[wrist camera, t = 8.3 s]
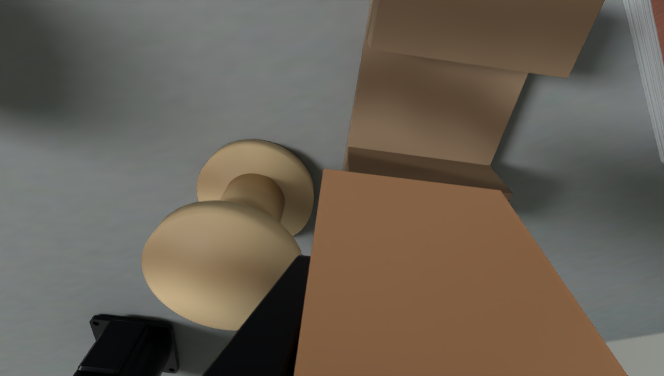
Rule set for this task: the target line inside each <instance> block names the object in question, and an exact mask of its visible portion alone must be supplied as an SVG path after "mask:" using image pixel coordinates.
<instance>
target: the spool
mask: <svg viewBox="0 0 664 376" xmlns="http://www.w3.org/2000/svg"><path fill="white" fill-rule="evenodd" d="M197 196H198V201H199V202H195V203H191V204H188V205H185V206H183V207H180V208H178V209H176V210H175V211H173V212H172V213H170V214H169V215H168V216H167V217H166V218H165V219H163V221H162V222H161V223H160V225H159V226H158V227H157V229H156V230H155V231H154V233H153V234H152V235H151V236H150V238H149V239H148V240H147V242H146V244H145V246H144V249H143V253H142V270H143V274H144V277H145V279H146V281H147V283H148V285H149V287H150V288H151V290H152V291H153V293H154V294H155V295H156V296H157V297H158V299H159V300H160V301H162V302H163V303H164V304H165V305H166V306H167V307H169V308H170V309H171V310H172V311H174V312H176V313H177V314H179V315H180V316H182V317H184V318H186V319H188V320H191V321H193V322H195V323H198V324H201V325H204V326H208V327H212V328H216V329H223V330H238V329H239V328H240V327H241V326H242V324H243V323H244V322H245V321H246V319H247V318H248V317H249V316H250V314H251V313H252V312H253V311H254V309H255V308H256V307H257V306H258V304H259V303H260V302H261V301H262V299H263V298H264V297H265V295H266V294H267V293H268V292H269V290H270V289H271V288H272V287H273V285H274V284H275V283H276V282H277V280H278V279H279V278H280V277H281V275H282V274H283V273H284V272H285V270H286V269H287V268H288V267H289V265H290V264H291V263H292V262H293V260H294V259H295V258H296V257H297V256H298V255H302V253H301V250H300V248H299V246H298V244H297V242H296V241H295V239H294V238H293V236H294V235H296V234H297V233H299V232H300V231H301V230H302V229H303V228H304V226H305V225H306V224H307V222H308V220H309V218H310V216H311V213H312V208H313V202H314V185H313V181H312V178H311V176H310V173H309V172H308V170H307V168H306V167H305V165H304V164H303V163H302V161H301V160H300V159H299V158H298V157H297V156H295V155H294V154H293V153H292V152H290V151H289V150H287V149H285V148H284V147H282V146H280V145H277V144H275V143H272V142H269V141H264V140H256V139H246V140H239V141H235V142H232V143H229V144H227V145H225V146H223V147H222V148H220V149H219V150H217V151H216V152H215V153H214V154H213V155H212V156H211V158H210V159H209V160H208V162H207V163H206V164H205V166H204V167H203V169H202V170H201V172H200V175H199V178H198V182H197Z"/></svg>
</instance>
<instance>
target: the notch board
mask: <svg viewBox="0 0 664 376" xmlns="http://www.w3.org/2000/svg"><path fill="white" fill-rule="evenodd" d="M604 1H605V0H371V4H370V10H369V16H368V22H367V28H366V34H365V40H364V46H363V52H362V58H361V63H360V69H359V75H358V81H357V87H356V93H355V99H354V105H353V111H352V117H351V123H350V129H349V135H348V141H347V147H346V153H345V159H344V165H343V171H347V172H355V173H363V174H371V175H379V176H388V177H396V178H404V179H412V180H420V181H428V182H436V183H445V184H453V185H461V186H469V187H477V188H485V189H494V190H501V192H502V193H503V195H504V196H505V198H506V199H507V201H508V202H509V201H510V199H511V197H512V192H511V191H510V190H509V189H508V187H507V186H506V185H505V184H504V182H503V181H502V180H501V179H500V177H499V176H498V175H497V174H496V172H495V171H494V170H493V169H492V167H491V166H490V164H491V162H492V160H493V157H494V155H495V152H496V150H497V148H498V145H499V143H500V140H501V138H502V136H503V133H504V131H505V128H506V126H507V123H508V121H509V119H510V116H511V114H512V111H513V109H514V107H515V104H516V102H517V99H518V97H519V94H520V92H521V90H522V87H523V85H524V82H525V80H526V78H527V75H528V73H535V74H541V75H548V76H555V77H562V78H568V77H569V74H570V72H571V70H572V68H573V66H574V64H575V62H576V60H577V58H578V56H579V53H580V51H581V49H582V47H583V45H584V43H585V41H586V39H587V37H588V34H589V32H590V30H591V28H592V26H593V24H594V22H595V20H596V18H597V16H598V13H599V11H600V9H601V7H602V5H603V3H604Z"/></svg>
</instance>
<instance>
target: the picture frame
mask: <svg viewBox="0 0 664 376" xmlns="http://www.w3.org/2000/svg"><path fill="white" fill-rule="evenodd" d="M623 2H624V6H625V11H626V15H627V19H628V23H629V28H630V32H631V36H632V40H633V45H634V49H635V53H636V57H637V62H638V66H639V70H640V74H641V79H642V83H643V87H644V91H645V96H646V100H647V104H648V108H649V113H650V117H651V121H652V125H653V130H654V134H655V138H656V142H657V147H658V151H659V155H660V159H661V162H663V163H664V0H623Z"/></svg>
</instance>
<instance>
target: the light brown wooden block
mask: <svg viewBox="0 0 664 376" xmlns="http://www.w3.org/2000/svg"><path fill="white" fill-rule="evenodd" d="M294 376H628V375H627V374H626V372H625V371H624V370H623V368H622V367H621V365H620V364H619V362H618V361H617V359H616V358H615V357H614V355H613V354H612V352H611V351H610V349H609V348H608V346H607V345H606V343H605V342H604V340H603V339H602V337H601V336H600V335H599V333H598V332H597V330H596V329H595V327H594V326H593V324H592V323H591V321H590V320H589V319H588V317H587V316H586V314H585V313H584V311H583V310H582V308H581V307H580V305H579V304H578V303H577V301H576V300H575V298H574V297H573V295H572V294H571V292H570V291H569V289H568V288H567V287H566V285H565V284H564V282H563V281H562V279H561V278H560V276H559V275H558V273H557V272H556V271H555V269H554V268H553V266H552V265H551V263H550V262H549V260H548V259H547V257H546V256H545V254H544V253H543V252H542V250H541V249H540V247H539V246H538V244H537V243H536V241H535V240H534V238H533V237H532V236H531V234H530V233H529V231H528V230H527V228H526V227H525V225H524V224H523V222H522V221H521V220H520V218H519V217H518V215H517V214H516V212H515V211H514V209H513V208H512V206H511V205H510V204H509V202H508V201H507V199H506V198H505V196H504V195H503V193H502V192H501V190H494V189H485V188H477V187H469V186H461V185H453V184H445V183H436V182H428V181H420V180H412V179H404V178H396V177H388V176H379V175H371V174H363V173H355V172H347V171H339V170H330V169H323V175H322V182H321V189H320V196H319V203H318V210H317V217H316V224H315V231H314V238H313V245H312V252H311V259H310V266H309V273H308V280H307V287H306V294H305V301H304V308H303V315H302V322H301V329H300V336H299V343H298V350H297V357H296V364H295V371H294Z"/></svg>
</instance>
